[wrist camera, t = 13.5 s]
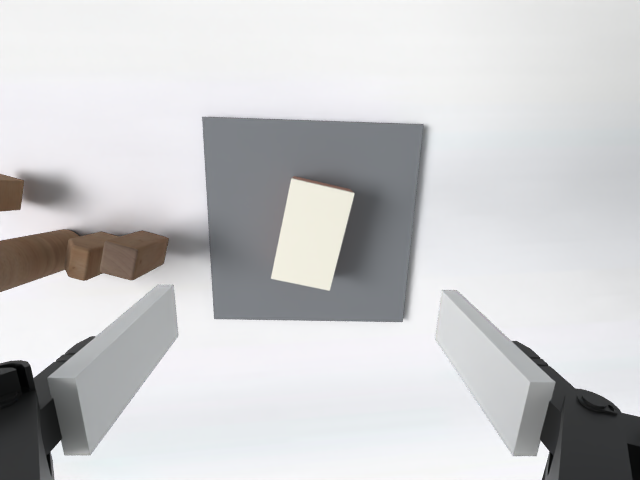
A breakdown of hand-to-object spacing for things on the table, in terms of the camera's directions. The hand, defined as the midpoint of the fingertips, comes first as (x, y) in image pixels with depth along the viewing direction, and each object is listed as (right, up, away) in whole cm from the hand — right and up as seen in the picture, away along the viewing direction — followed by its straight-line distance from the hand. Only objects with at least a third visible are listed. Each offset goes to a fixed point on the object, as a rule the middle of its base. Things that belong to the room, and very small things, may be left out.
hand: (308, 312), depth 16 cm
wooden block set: (-25, +4, +19) cm, 32 cm away
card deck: (0, +5, +19) cm, 19 cm away
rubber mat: (0, +5, +20) cm, 20 cm away
